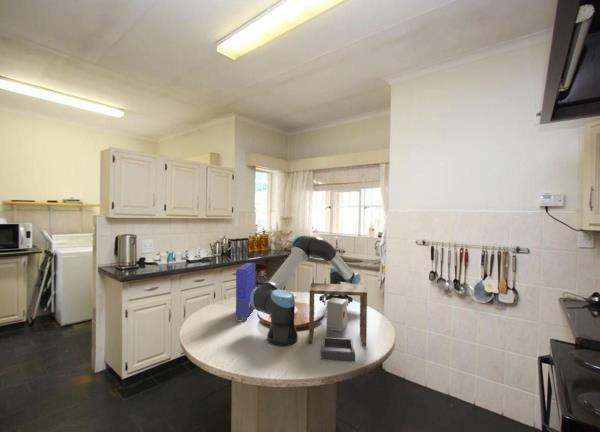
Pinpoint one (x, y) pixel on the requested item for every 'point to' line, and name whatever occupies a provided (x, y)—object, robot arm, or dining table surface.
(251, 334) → the dining table surface
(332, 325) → the supplement box
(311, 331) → the tunnel
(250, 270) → the cereal box
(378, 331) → the dining table surface
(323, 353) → the tray
